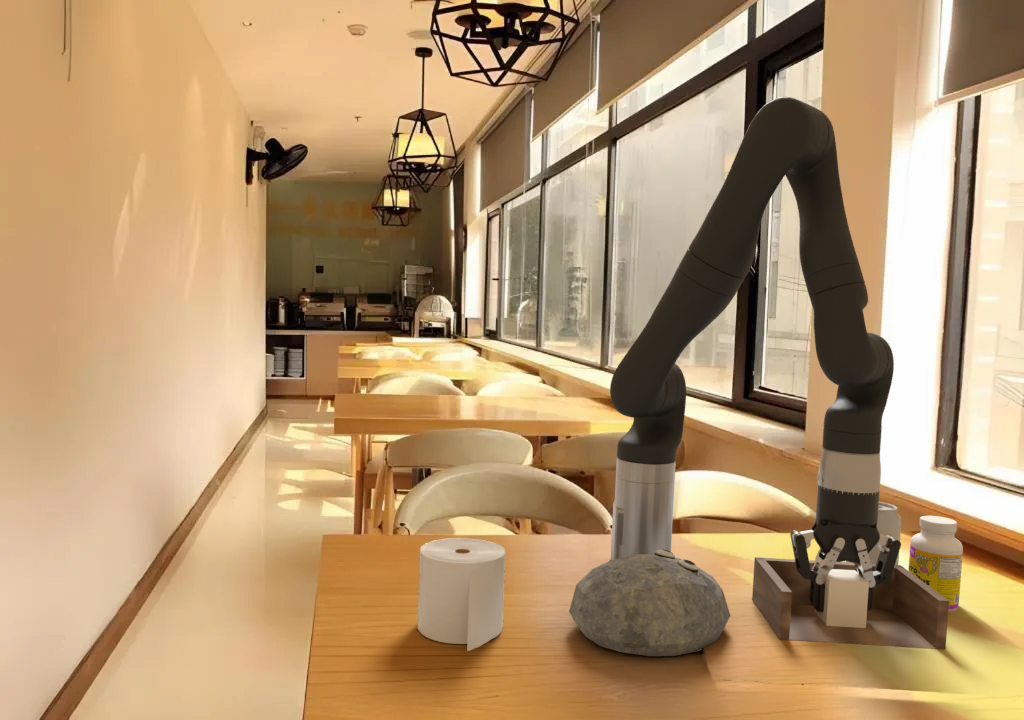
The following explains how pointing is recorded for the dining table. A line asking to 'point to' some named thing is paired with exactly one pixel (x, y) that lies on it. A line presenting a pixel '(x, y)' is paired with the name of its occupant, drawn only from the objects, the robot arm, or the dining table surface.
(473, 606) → the toilet tissue
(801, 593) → the walnut box
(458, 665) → the dining table surface
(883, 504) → the can
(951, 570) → the supplement bottle
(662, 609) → the decorative stone
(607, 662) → the dining table surface
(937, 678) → the dining table surface
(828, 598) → the cream block
